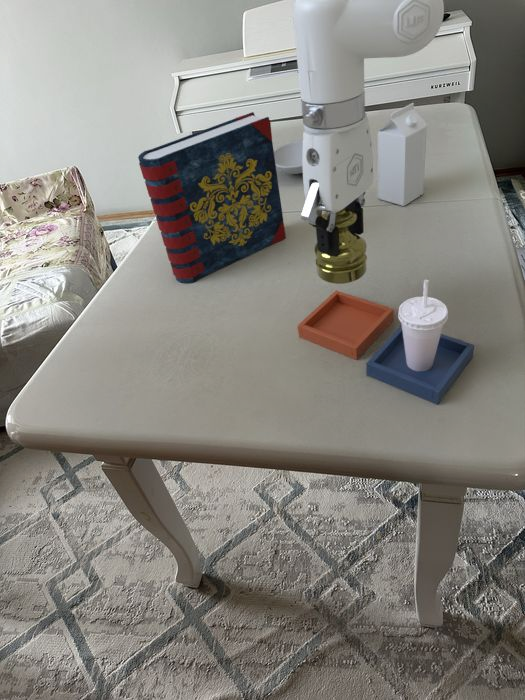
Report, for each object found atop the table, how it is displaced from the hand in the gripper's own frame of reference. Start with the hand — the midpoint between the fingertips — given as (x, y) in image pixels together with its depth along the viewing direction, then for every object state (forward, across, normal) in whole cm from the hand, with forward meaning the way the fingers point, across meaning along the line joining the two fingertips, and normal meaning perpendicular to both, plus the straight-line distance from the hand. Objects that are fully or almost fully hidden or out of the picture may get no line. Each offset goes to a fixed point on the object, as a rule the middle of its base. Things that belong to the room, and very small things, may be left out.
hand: (341, 241), depth 74 cm
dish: (+16, +48, +46) cm, 68 cm away
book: (+16, +8, +34) cm, 39 cm away
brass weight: (+5, 0, 0) cm, 5 cm away
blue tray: (+16, -2, -14) cm, 22 cm away
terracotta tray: (+16, 0, 0) cm, 16 cm away
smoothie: (+16, -2, -14) cm, 21 cm away
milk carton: (+16, +45, +15) cm, 50 cm away
